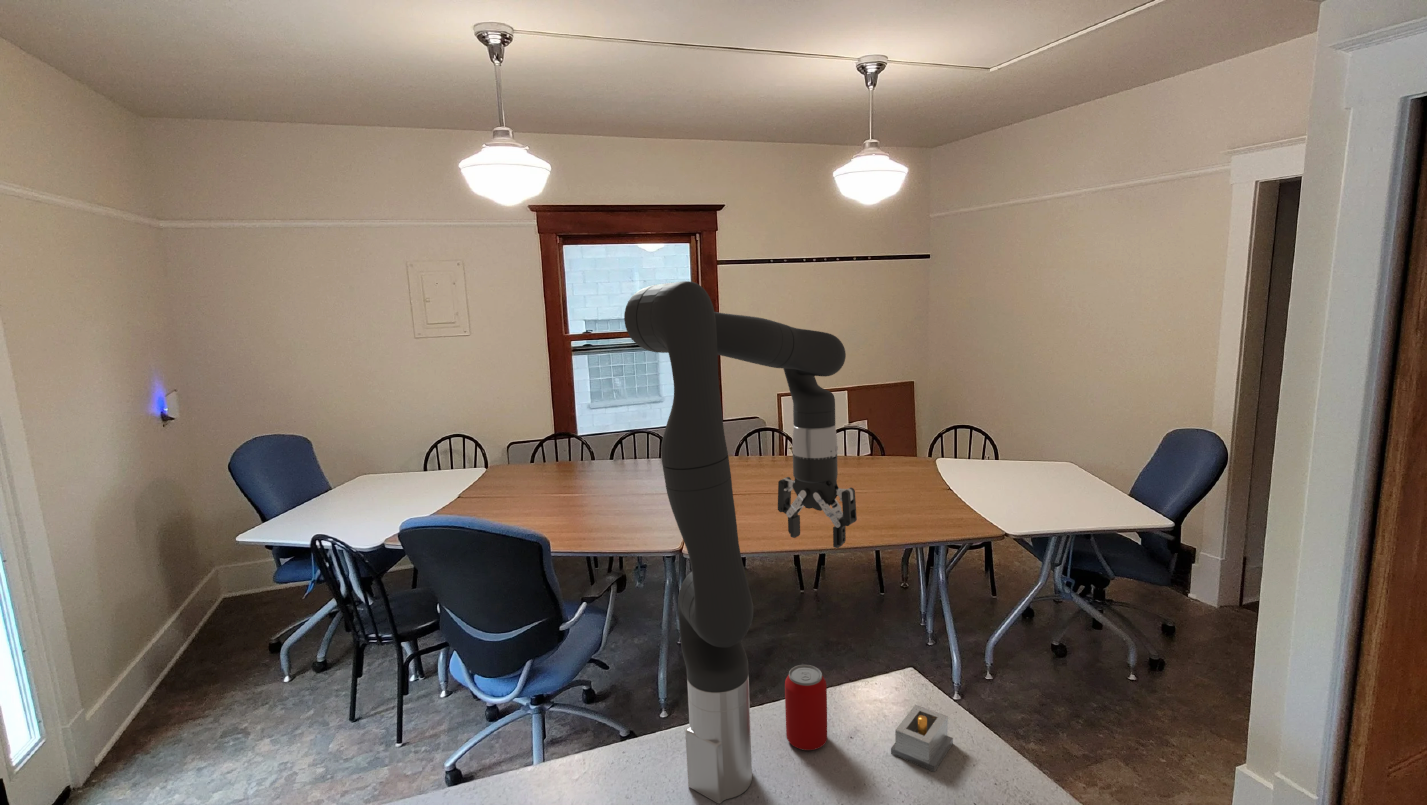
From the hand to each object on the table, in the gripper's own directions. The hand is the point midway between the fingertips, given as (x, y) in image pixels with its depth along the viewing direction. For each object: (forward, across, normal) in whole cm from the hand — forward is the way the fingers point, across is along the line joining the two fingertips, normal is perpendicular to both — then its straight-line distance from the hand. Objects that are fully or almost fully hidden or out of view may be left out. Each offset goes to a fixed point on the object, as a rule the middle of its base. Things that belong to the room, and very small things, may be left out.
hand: (816, 541), depth 116 cm
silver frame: (+29, +20, -2) cm, 35 cm away
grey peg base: (+30, +20, -2) cm, 36 cm away
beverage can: (+30, +4, -11) cm, 32 cm away
